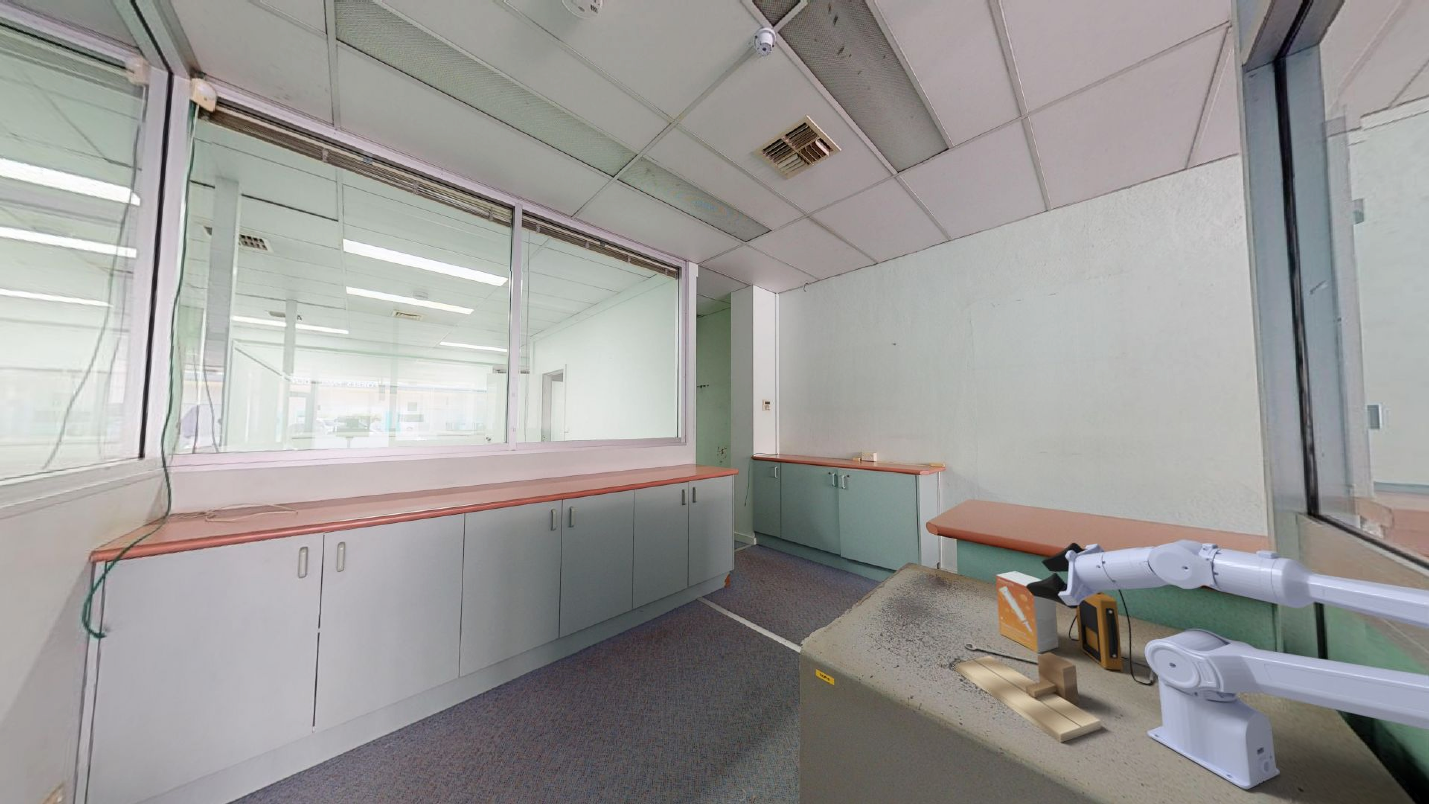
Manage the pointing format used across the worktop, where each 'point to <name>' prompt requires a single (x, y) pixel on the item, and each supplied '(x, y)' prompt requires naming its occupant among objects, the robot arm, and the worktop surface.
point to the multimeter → (1103, 632)
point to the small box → (1025, 613)
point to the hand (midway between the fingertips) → (1038, 577)
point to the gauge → (1055, 678)
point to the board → (1028, 699)
